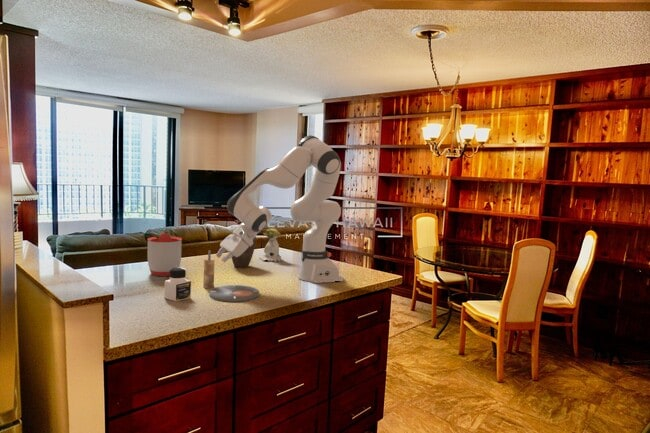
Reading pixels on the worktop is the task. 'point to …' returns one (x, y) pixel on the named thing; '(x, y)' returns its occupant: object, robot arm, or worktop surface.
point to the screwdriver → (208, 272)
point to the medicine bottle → (177, 285)
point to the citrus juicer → (164, 254)
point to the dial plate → (234, 293)
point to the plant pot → (244, 256)
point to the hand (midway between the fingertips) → (219, 258)
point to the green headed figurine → (271, 246)
